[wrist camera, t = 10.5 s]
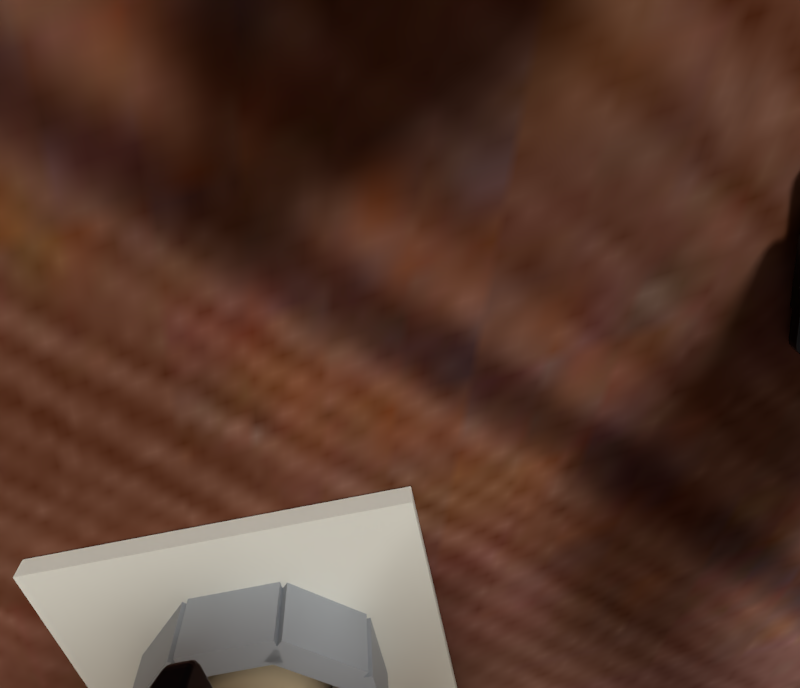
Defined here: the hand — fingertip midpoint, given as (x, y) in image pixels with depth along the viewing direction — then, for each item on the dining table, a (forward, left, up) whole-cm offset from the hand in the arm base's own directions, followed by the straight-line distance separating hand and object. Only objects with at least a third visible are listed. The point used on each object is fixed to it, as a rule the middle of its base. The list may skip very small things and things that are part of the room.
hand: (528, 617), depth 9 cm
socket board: (+9, +15, -12) cm, 21 cm away
